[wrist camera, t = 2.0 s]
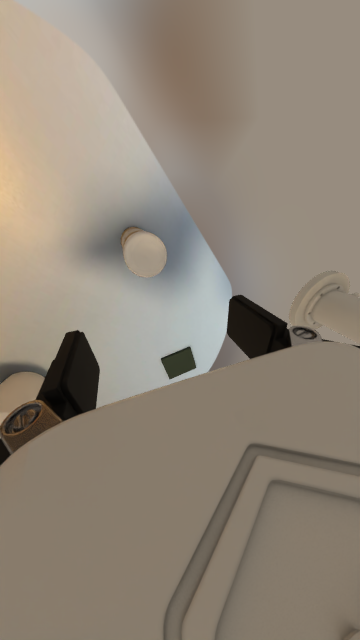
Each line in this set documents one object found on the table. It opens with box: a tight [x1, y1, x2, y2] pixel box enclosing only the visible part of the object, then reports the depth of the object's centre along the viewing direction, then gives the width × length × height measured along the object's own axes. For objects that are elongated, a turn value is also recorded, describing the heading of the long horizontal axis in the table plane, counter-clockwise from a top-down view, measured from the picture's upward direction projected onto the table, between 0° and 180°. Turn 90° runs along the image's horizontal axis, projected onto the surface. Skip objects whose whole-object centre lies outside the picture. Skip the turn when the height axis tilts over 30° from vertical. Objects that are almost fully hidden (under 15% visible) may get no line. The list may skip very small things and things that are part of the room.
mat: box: [161, 347, 196, 379], centre depth 46 cm, size 8×8×1 cm
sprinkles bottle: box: [121, 227, 167, 277], centre depth 24 cm, size 5×5×13 cm
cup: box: [0, 372, 45, 425], centre depth 30 cm, size 12×12×14 cm
